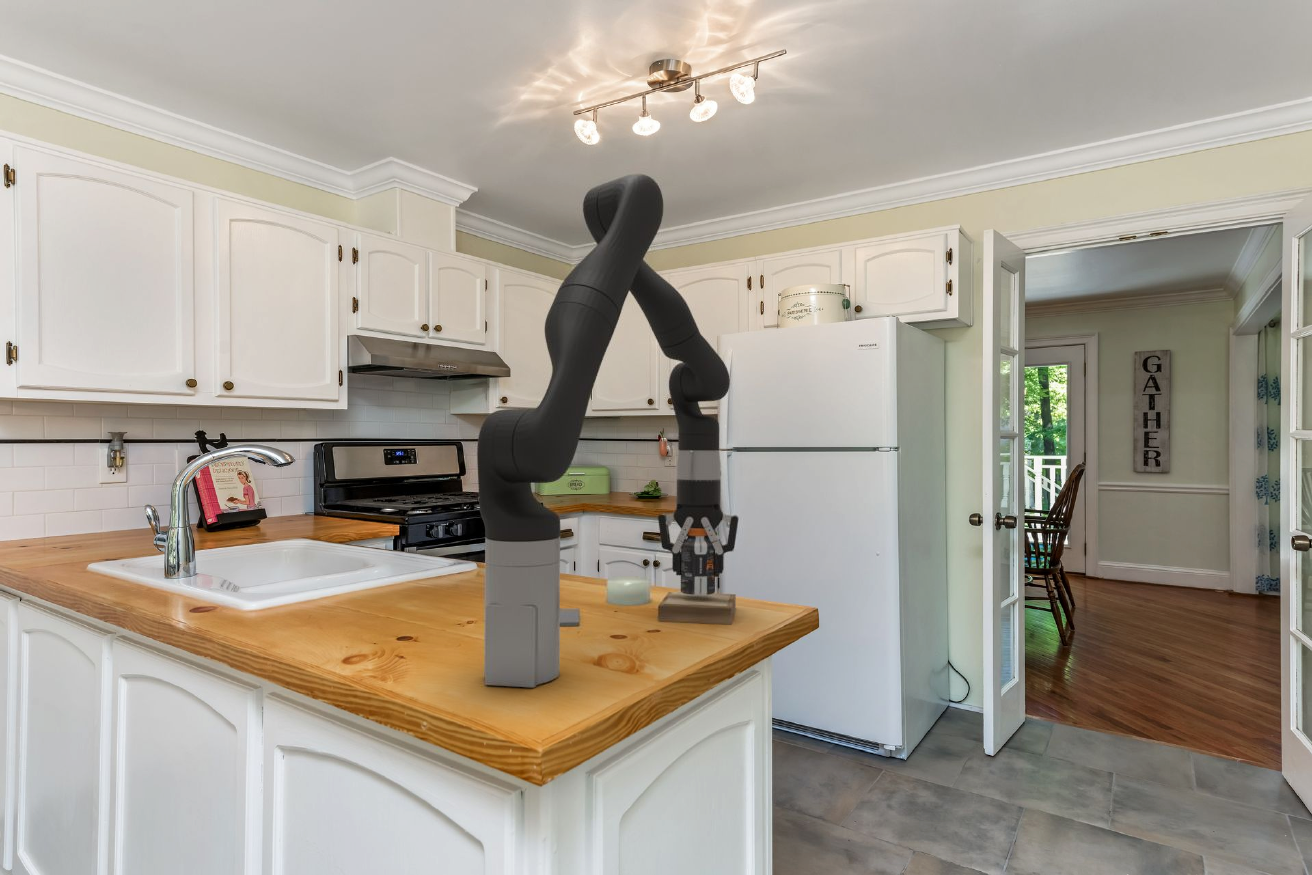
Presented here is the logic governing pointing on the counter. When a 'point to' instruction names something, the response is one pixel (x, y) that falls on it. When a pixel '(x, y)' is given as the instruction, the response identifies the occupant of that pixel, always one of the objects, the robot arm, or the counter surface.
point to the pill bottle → (697, 564)
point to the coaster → (569, 617)
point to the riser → (697, 608)
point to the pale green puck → (628, 591)
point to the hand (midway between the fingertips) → (698, 575)
